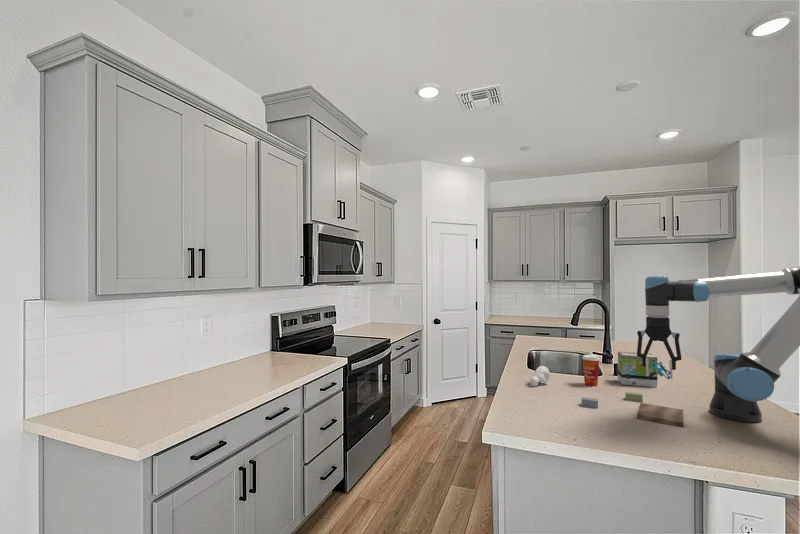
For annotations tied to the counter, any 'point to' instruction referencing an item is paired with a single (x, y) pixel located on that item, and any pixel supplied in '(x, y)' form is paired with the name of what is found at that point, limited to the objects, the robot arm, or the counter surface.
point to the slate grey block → (590, 402)
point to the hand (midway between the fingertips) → (659, 376)
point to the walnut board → (660, 414)
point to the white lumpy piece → (540, 376)
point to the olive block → (634, 396)
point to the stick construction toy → (658, 370)
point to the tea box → (635, 370)
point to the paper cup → (590, 369)
